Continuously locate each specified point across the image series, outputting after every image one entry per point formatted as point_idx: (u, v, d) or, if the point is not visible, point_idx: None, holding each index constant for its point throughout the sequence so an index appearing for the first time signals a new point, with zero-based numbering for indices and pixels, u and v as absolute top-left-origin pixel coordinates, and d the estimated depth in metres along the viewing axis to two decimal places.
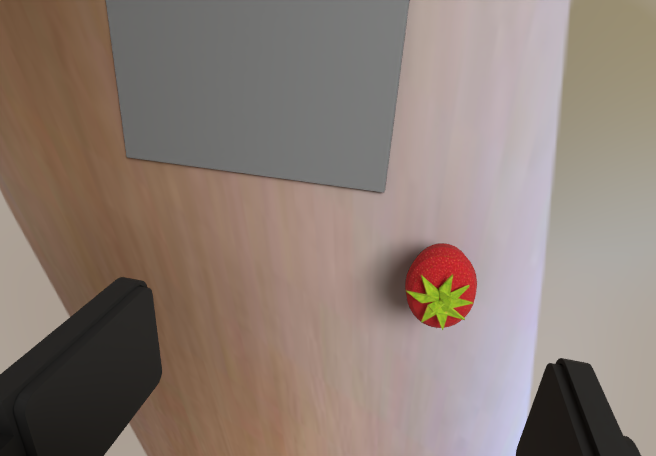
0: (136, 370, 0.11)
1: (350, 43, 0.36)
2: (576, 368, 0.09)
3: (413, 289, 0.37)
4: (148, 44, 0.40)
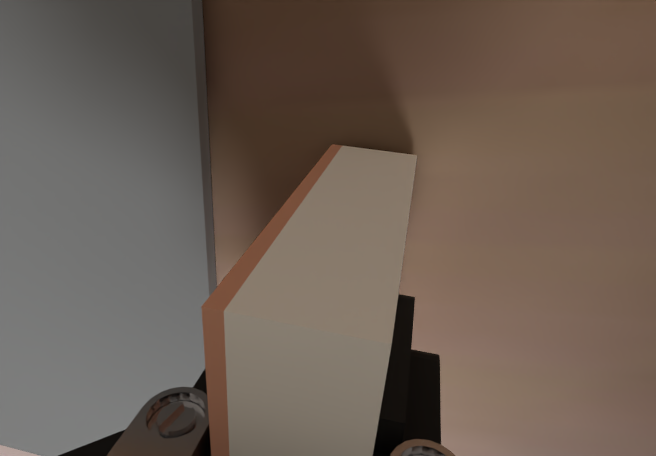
0: None
1: (54, 400, 0.20)
2: (400, 299, 0.10)
3: None
4: None
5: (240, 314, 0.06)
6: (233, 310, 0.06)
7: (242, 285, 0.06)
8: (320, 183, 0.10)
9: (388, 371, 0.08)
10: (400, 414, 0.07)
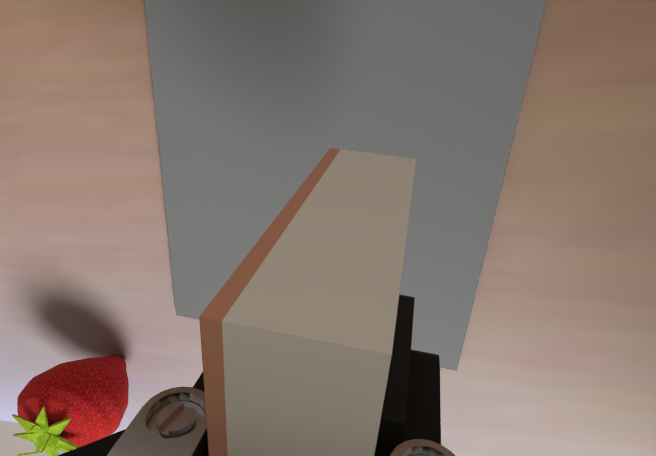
0: None
1: None
2: (400, 299, 0.10)
3: (52, 402, 0.30)
4: None
5: (238, 324, 0.06)
6: (231, 320, 0.06)
7: (240, 294, 0.06)
8: (319, 188, 0.10)
9: None
10: (400, 415, 0.07)
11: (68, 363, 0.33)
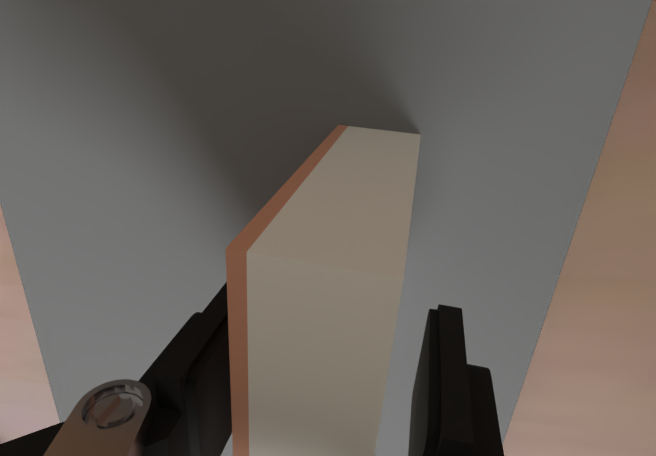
0: None
1: None
2: (447, 311, 0.10)
3: None
4: None
5: (261, 255, 0.06)
6: (255, 252, 0.06)
7: (262, 233, 0.07)
8: (329, 155, 0.10)
9: (447, 388, 0.08)
10: (467, 435, 0.07)
11: None
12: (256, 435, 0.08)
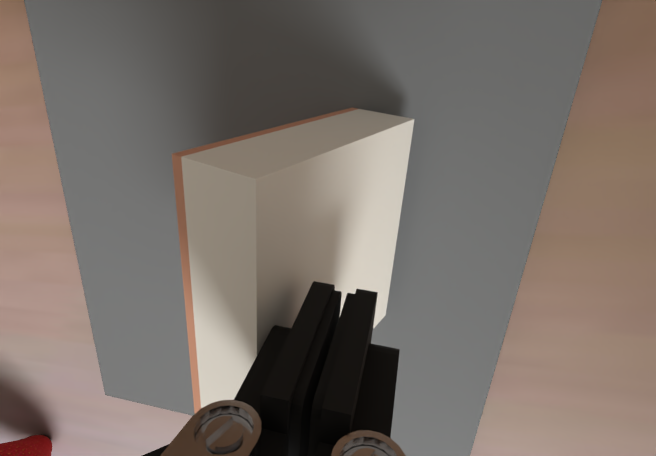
0: None
1: None
2: (362, 294, 0.11)
3: None
4: None
5: (189, 160, 0.10)
6: (187, 158, 0.10)
7: (202, 151, 0.10)
8: (311, 123, 0.13)
9: (341, 364, 0.08)
10: (347, 407, 0.07)
11: None
12: (195, 293, 0.11)
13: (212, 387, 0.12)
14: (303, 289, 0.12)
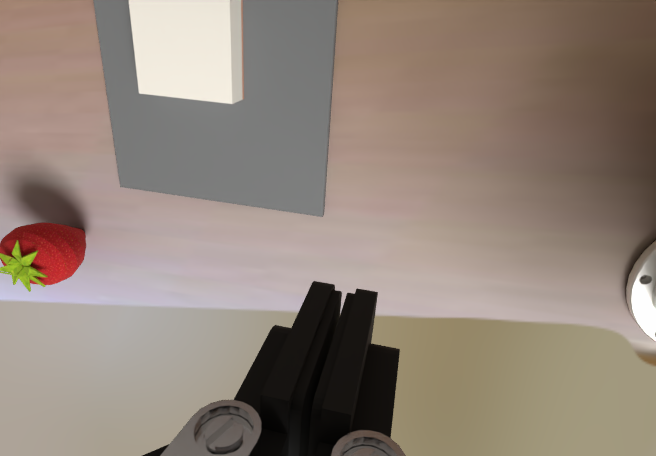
0: None
1: (239, 160, 0.39)
2: (362, 294, 0.11)
3: (24, 241, 0.40)
4: None
5: None
6: None
7: None
8: None
9: (341, 364, 0.08)
10: (347, 406, 0.07)
11: (38, 223, 0.43)
12: None
13: None
14: (154, 35, 0.34)
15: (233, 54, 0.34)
